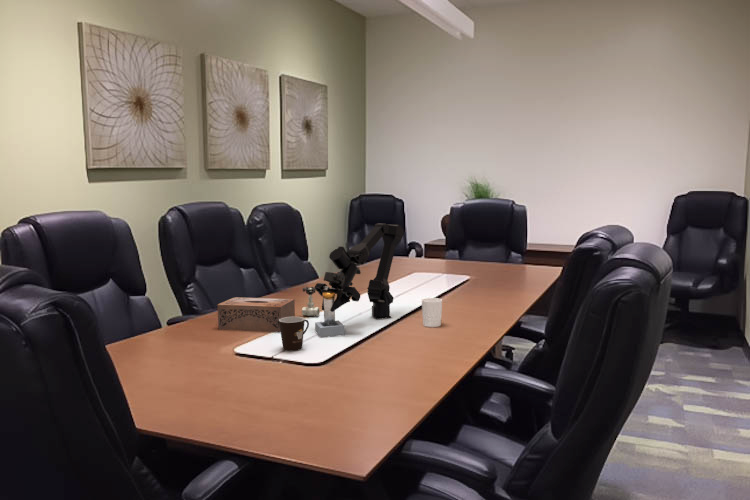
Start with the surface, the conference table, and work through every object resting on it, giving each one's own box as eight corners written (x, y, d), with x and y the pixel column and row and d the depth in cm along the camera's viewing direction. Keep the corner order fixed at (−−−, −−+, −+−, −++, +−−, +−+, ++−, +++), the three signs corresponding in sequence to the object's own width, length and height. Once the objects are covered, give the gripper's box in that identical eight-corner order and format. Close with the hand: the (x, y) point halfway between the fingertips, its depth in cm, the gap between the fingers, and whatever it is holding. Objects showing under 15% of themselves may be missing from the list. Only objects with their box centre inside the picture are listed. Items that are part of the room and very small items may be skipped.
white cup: (444, 323, 235) (444, 298, 234) (438, 328, 228) (438, 302, 227) (425, 322, 238) (425, 297, 237) (418, 326, 231) (418, 301, 230)
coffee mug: (284, 353, 198) (283, 323, 197) (276, 347, 206) (275, 318, 204) (317, 348, 203) (316, 319, 202) (308, 342, 211) (307, 314, 210)
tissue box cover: (295, 323, 240) (294, 299, 239) (281, 332, 226) (280, 306, 225) (235, 321, 246) (234, 297, 244) (218, 330, 232) (217, 304, 231)
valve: (316, 318, 247) (315, 289, 246) (300, 318, 249) (300, 289, 247) (320, 315, 254) (320, 286, 252) (305, 314, 255) (305, 286, 254)
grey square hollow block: (338, 329, 229) (338, 320, 228) (344, 335, 220) (344, 325, 220) (315, 331, 226) (315, 322, 226) (320, 337, 218) (320, 327, 217)
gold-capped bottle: (331, 325, 226) (330, 291, 225) (338, 327, 223) (337, 292, 221) (321, 327, 223) (320, 292, 222) (328, 329, 220) (327, 294, 218)
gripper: (316, 261, 229) (297, 295, 222) (354, 265, 218) (335, 300, 210) (331, 279, 236) (312, 312, 229) (368, 283, 225) (350, 318, 217)
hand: (326, 310), depth 221 cm, fingers closed on gold-capped bottle, 4 cm apart
